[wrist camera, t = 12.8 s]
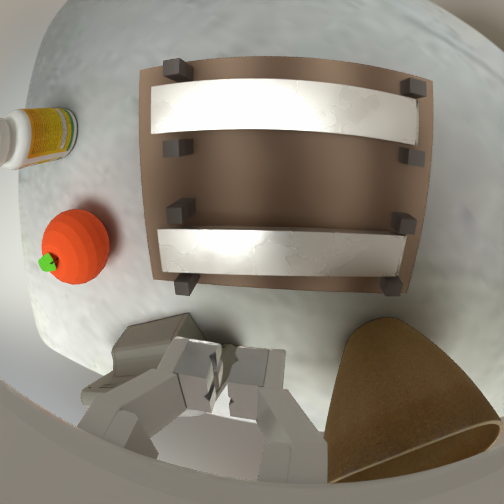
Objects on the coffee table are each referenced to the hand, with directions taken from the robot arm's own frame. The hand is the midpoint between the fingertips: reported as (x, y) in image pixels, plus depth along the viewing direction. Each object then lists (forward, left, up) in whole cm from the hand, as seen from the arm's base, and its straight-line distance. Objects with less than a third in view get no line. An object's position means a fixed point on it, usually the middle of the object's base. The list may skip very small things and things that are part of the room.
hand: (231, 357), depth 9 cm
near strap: (-2, -9, -10) cm, 14 cm away
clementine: (+18, +2, -15) cm, 23 cm away
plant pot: (-12, +13, -15) cm, 24 cm away
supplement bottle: (+21, -9, -15) cm, 27 cm away
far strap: (-2, 0, -10) cm, 10 cm away
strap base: (-1, -4, -15) cm, 16 cm away
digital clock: (+10, +15, -15) cm, 24 cm away
